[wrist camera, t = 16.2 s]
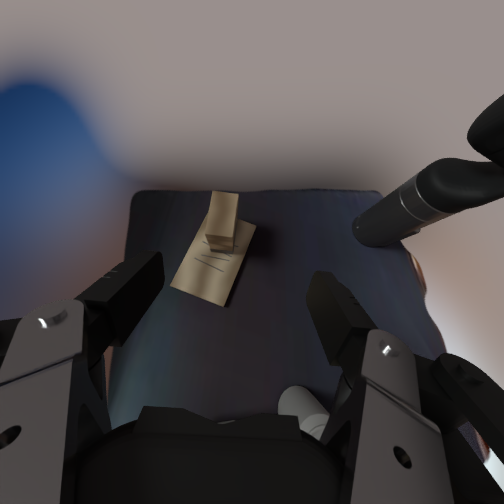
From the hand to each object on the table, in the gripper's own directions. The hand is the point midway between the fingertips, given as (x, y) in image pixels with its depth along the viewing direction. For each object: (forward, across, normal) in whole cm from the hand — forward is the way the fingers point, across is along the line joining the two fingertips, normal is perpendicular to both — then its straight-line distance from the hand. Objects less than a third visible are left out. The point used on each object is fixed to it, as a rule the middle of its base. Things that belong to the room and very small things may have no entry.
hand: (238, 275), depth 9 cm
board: (+28, +5, +15) cm, 32 cm away
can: (+9, -14, +35) cm, 39 cm away
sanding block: (+31, +4, +11) cm, 33 cm away
